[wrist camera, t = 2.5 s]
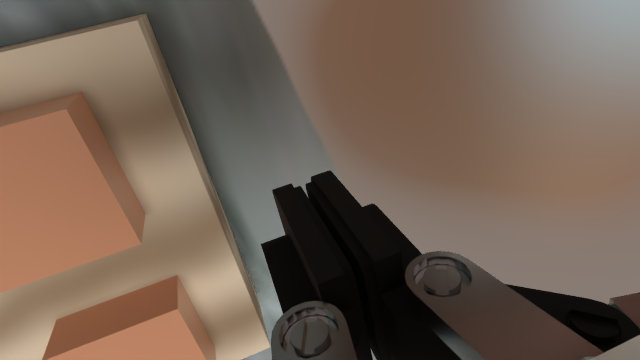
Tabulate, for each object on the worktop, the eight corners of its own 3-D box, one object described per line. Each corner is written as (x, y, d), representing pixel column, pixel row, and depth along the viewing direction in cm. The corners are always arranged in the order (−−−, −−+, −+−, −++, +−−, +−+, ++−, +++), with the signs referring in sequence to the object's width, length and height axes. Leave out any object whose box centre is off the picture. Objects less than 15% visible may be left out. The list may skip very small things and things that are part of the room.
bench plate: (-247, 104, 16) (-403, 147, 11) (145, 13, 19) (137, 20, 15) (30, 383, 26) (1, 461, 21) (256, 294, 29) (270, 347, 24)
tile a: (-92, 137, 14) (-140, 164, 12) (81, 92, 15) (66, 109, 13) (7, 259, 17) (-17, 299, 15) (145, 214, 18) (141, 243, 16)
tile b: (56, 319, 19) (41, 361, 17) (177, 274, 20) (177, 308, 18) (112, 388, 22) (105, 431, 20) (214, 346, 23) (218, 382, 21)
